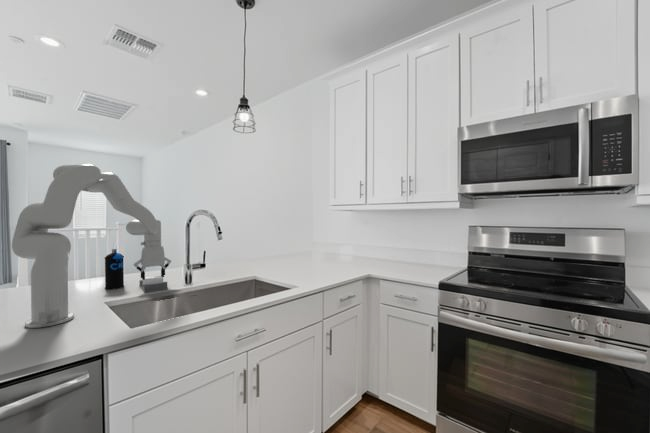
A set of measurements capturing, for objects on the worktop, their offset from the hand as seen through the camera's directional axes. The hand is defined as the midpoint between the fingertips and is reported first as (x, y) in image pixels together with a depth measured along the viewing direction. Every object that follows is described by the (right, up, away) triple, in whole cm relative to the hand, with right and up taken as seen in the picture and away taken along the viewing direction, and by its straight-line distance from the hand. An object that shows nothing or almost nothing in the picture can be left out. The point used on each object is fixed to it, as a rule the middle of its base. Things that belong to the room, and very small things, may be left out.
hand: (153, 277), depth 149 cm
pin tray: (0, -5, 0) cm, 5 cm away
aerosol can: (-21, -5, +1) cm, 21 cm away
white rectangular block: (0, -3, 0) cm, 3 cm away
